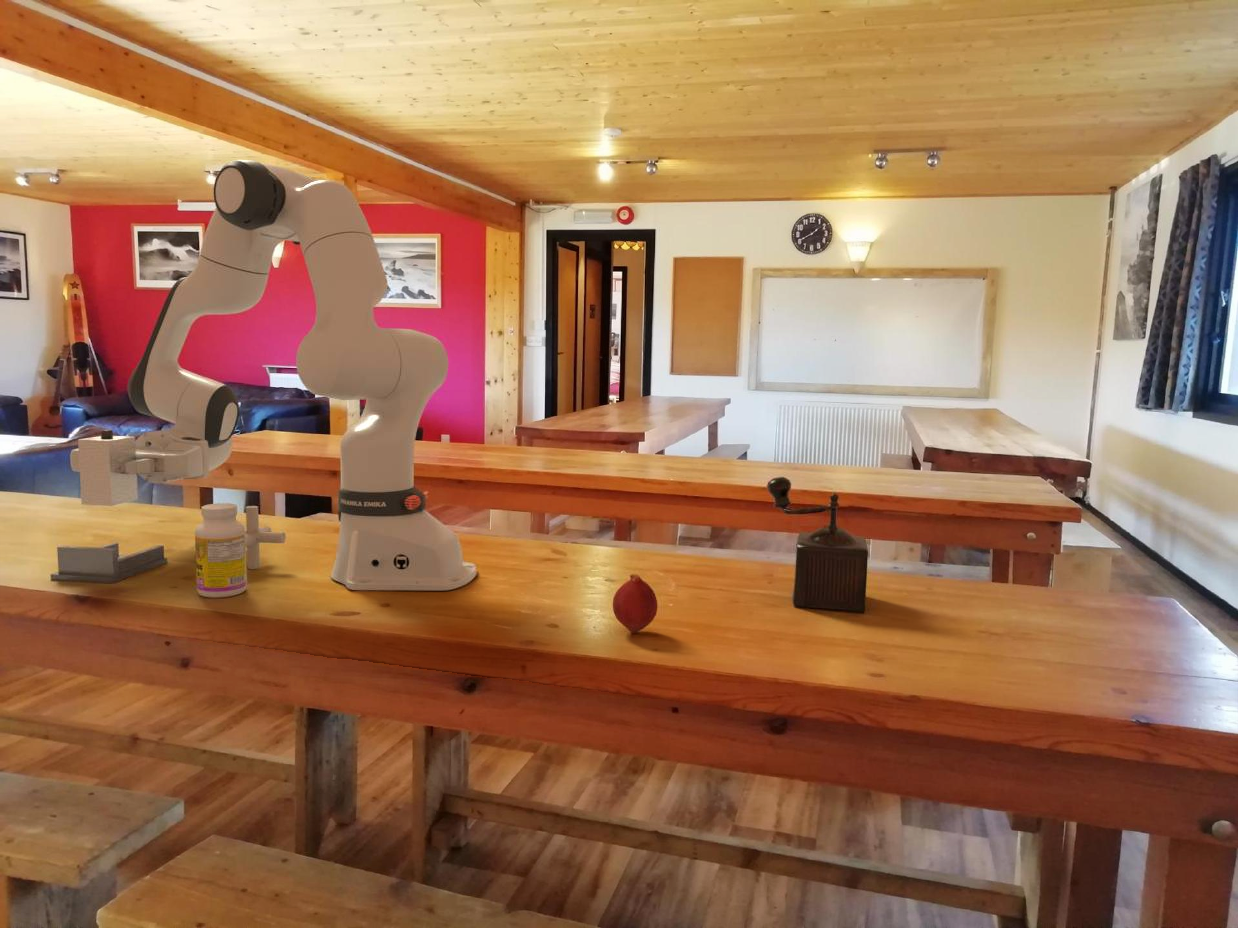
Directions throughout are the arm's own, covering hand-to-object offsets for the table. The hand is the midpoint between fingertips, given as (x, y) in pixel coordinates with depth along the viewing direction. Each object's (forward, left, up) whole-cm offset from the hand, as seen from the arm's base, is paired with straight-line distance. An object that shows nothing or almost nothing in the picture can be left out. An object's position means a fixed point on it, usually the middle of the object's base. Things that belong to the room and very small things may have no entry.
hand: (104, 467), depth 134 cm
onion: (-84, +13, -17) cm, 87 cm away
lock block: (0, -1, -5) cm, 6 cm away
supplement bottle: (-23, +7, -17) cm, 29 cm away
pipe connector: (-20, -7, -17) cm, 27 cm away
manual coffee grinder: (-109, -8, -17) cm, 111 cm away
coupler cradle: (0, -1, -16) cm, 16 cm away
